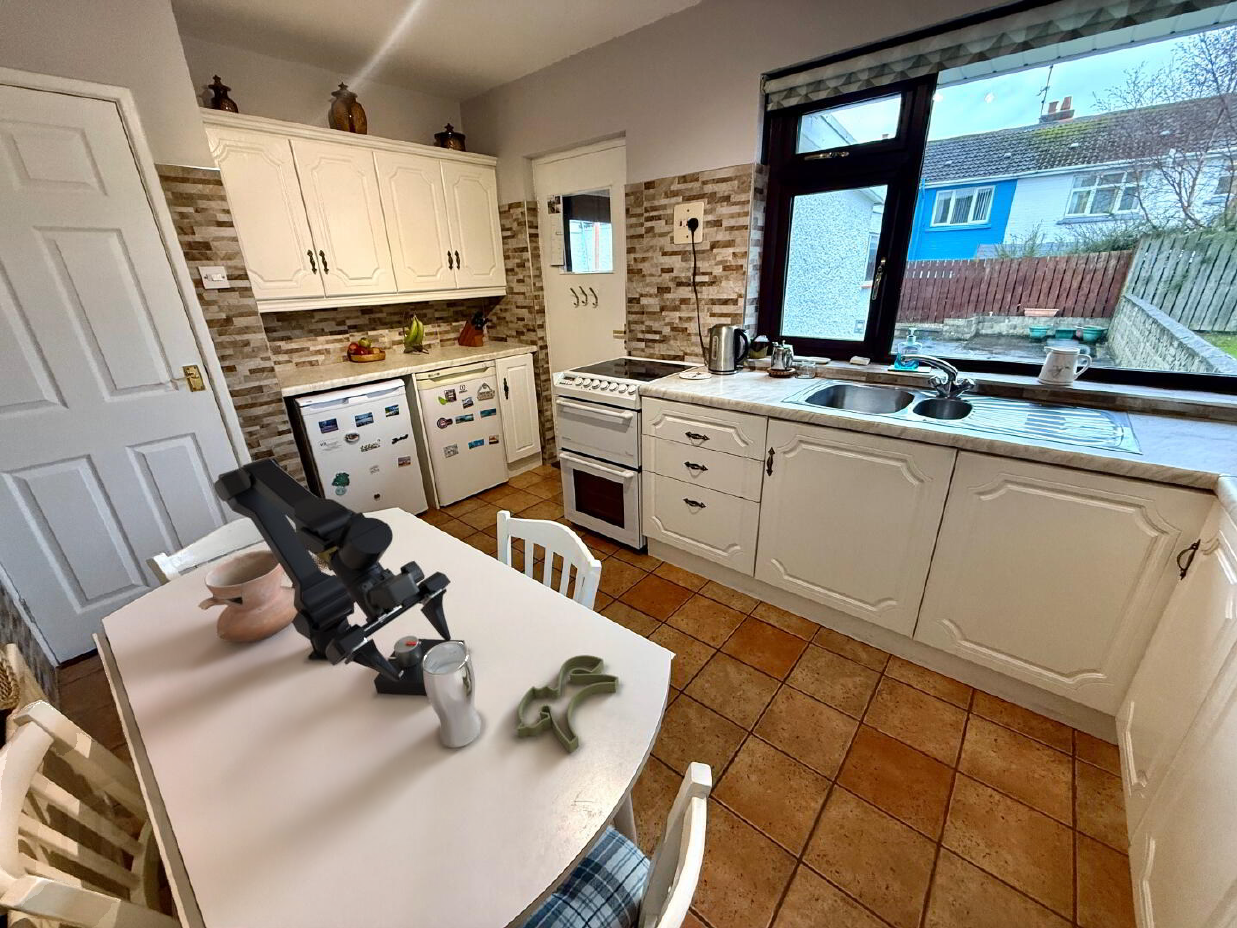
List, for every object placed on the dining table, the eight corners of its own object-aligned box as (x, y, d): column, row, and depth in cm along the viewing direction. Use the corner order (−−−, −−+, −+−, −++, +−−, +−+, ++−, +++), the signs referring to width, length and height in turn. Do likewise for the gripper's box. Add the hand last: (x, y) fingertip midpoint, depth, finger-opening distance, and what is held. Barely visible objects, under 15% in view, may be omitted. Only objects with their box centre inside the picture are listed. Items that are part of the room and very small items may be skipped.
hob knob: (393, 667, 84) (388, 650, 82) (404, 650, 88) (400, 633, 86) (415, 668, 84) (411, 651, 82) (425, 650, 87) (421, 634, 86)
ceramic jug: (239, 665, 89) (211, 603, 84) (201, 639, 96) (173, 580, 90) (332, 607, 103) (314, 551, 98) (294, 588, 110) (275, 534, 104)
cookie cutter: (565, 765, 70) (564, 755, 69) (503, 728, 76) (502, 719, 75) (626, 678, 84) (626, 669, 83) (570, 653, 90) (570, 644, 89)
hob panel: (376, 694, 82) (372, 680, 81) (404, 650, 92) (401, 637, 90) (445, 696, 82) (442, 683, 80) (466, 652, 91) (464, 639, 89)
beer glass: (429, 747, 73) (409, 673, 67) (451, 708, 79) (434, 637, 74) (472, 754, 72) (456, 679, 66) (491, 713, 78) (477, 642, 72)
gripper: (313, 593, 62) (385, 691, 61) (432, 527, 77) (491, 606, 76) (299, 620, 69) (362, 709, 68) (410, 556, 84) (464, 628, 83)
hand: (425, 659), depth 74 cm, fingers open, 9 cm apart
